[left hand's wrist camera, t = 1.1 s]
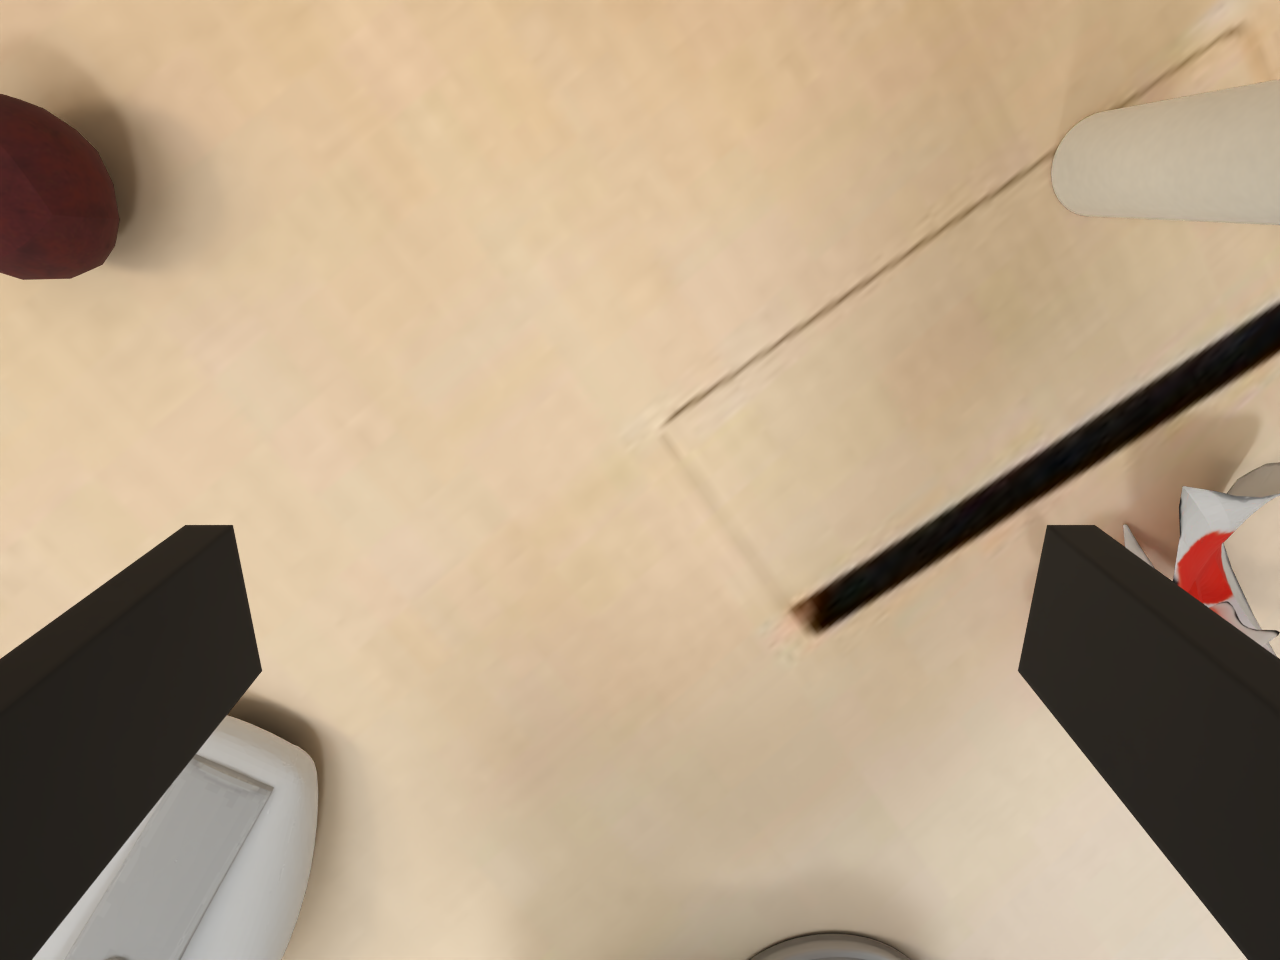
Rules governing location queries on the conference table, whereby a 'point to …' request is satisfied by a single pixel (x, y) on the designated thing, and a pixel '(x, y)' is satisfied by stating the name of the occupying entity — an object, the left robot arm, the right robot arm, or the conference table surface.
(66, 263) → the potato
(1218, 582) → the fish
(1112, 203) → the jar
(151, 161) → the conference table surface
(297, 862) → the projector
